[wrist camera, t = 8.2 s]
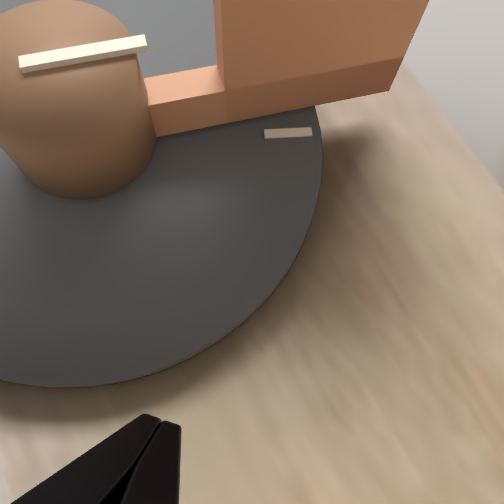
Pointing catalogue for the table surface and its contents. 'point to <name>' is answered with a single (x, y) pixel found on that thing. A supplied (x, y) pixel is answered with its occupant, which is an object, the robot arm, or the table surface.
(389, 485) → the table surface
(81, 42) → the capstan
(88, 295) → the dial plate
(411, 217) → the table surface
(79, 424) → the table surface
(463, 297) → the table surface
